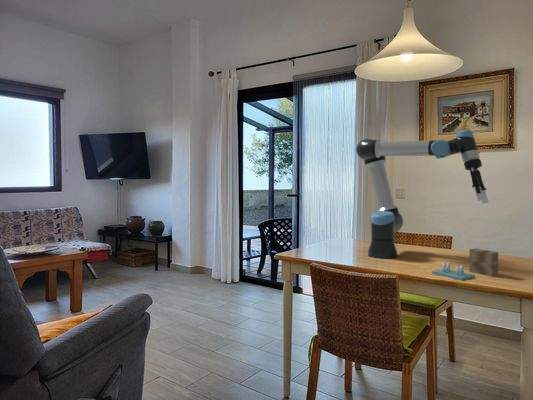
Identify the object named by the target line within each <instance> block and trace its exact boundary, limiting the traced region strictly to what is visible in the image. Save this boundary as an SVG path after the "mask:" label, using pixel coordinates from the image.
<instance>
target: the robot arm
mask: <svg viewBox="0 0 533 400" xmlns="http://www.w3.org/2000/svg"><path fill="white" fill-rule="evenodd" d="M455 137H456V138H453V139H450V140H445V139H436V140H430V139H429V140H397V141H393V140H391V141H389V140H387V141H382V140H380V139H372V138H364V139H361V140H360V141H359V142H358V144H356V145H357V146H356V149H355V150H356V151H355V152H356V154H357V156H358V157H359V158H360V159H362V160H363V162H364V166H365V167H367V168H368V170H369V174H370V180H371V184H372V186H373V190H374V191H373V192H374V195H375V198H376V203H377V207H378V209H377V210H376V212H373V213H372V214H371V218H370V225H371V226H370V229H371V234H370V235H371V236H370V237H371V239H370V243H369V247H368V250H367V256H368V257H371V258H376V259H377V258H378V259H391V258H393V259H394V258H397V257H398V250H397V248H396V245H395V244H396V243H395V233H397V232H398V231H400V230H401V228H402V226H403V225H404V218H403V215H401V213H400V211H399V209H398V208H399V207H398V206H396V205H395V204H394V199H393V194H392V191H391V187H390V182H389V180H388V176H387V172H386V167H385V163H386V157H392V156H393V157H402V156H403V157H404V156H406V157H413V156H414V157H415V156H424V157H425V156H426V157H427V156H432V157H433V156H434V157H435V158H436V159H438V160H439V159H444V158H447V157H451V156H452V155H456V154H459V153H460V154H461V159H462V162H463V166H464V169H465V170H466V171H469V172H470V173H469V174H470V177H471V182H472V185H471V186H472V188H473V189H474V191H475V192H474V193H475V195H476V199H477V201H478V202H479V201H481V202H482V204H487V203H488V204H489V198H488V195H487V192H486V191H487V190H488V189H487V187H486V186H485V185H484V184H485V183H484V182H483V179H482V178H483V177H482V175H481V171H480V168H481V167H482V166H483V163H482V160H481V159H480V155H479V154H480V151H478V150H479V149H478V146H477V143H476V140H475V139H476V138H475V136H474V133H473V131H472V130H470V129H465V130H461V131H459V132H457V133H456V136H455Z"/></svg>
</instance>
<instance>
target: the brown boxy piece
mask: <svg viewBox="0 0 533 400" xmlns="http://www.w3.org/2000/svg"><path fill="white" fill-rule="evenodd" d="M468 265H469V267H468V268H469V269H468V270H469V273H471V274H473V273H474V274H478V275H482V276H487V277H496V276H498V275H499V251H494V250H488V249H481V248H471V249H469V264H468Z"/></svg>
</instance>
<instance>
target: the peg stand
mask: <svg viewBox="0 0 533 400" xmlns="http://www.w3.org/2000/svg"><path fill="white" fill-rule="evenodd" d="M431 274H433V275H438V276H442V277H446V278H449V279H453V280H458V281H464V280H468V279H473V278H476V275H475V274H473V273H467V272H465V265H459V266H457V265H456V266H455V270H453V269H451V263H450V262H446V263H442V268H440V269H437V270H432V271H431Z"/></svg>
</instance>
